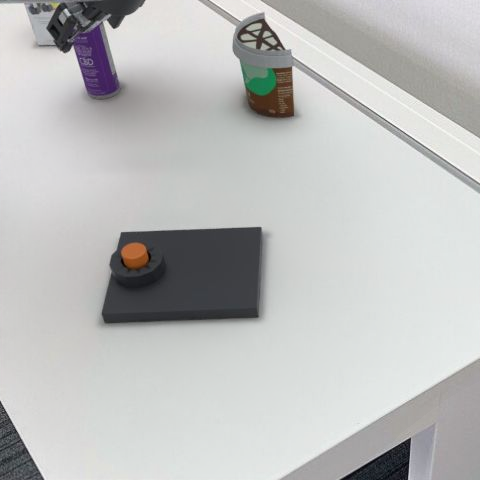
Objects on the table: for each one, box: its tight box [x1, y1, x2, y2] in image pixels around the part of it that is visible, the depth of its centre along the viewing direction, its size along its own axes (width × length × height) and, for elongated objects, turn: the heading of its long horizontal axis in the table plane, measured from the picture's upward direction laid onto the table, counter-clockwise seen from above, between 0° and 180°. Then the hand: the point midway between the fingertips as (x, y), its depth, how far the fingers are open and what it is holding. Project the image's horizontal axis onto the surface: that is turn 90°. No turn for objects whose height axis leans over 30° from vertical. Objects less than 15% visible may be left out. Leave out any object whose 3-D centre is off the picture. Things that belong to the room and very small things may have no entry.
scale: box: [100, 226, 264, 324], centre depth 83 cm, size 16×13×3 cm
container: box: [65, 2, 121, 100], centre depth 104 cm, size 5×5×15 cm
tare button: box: [121, 243, 149, 269], centre depth 81 cm, size 3×3×2 cm
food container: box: [231, 11, 295, 118], centre depth 103 cm, size 12×6×10 cm, turn 22°
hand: (86, 34), depth 104 cm, fingers open, 8 cm apart
